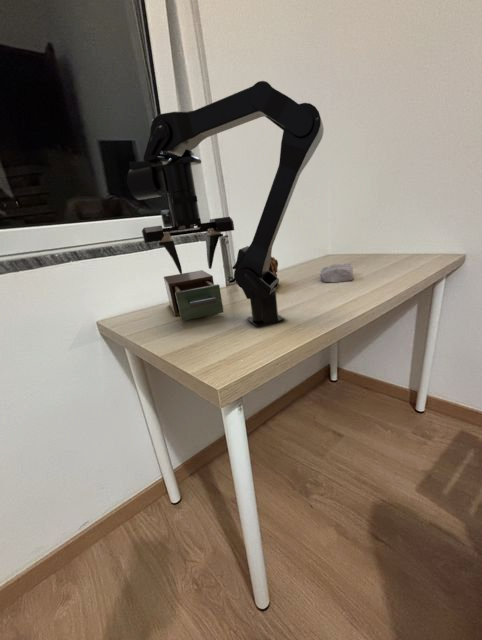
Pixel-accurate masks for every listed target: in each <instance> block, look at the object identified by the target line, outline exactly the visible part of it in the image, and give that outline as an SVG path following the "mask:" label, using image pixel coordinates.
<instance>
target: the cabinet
mask: <svg viewBox="0 0 482 640" xmlns="http://www.w3.org/2000/svg"><path fill="white" fill-rule="evenodd" d="M204 280H208V281H209V282H211V283H212V284H214V285H215V282H214V276H213V275H212V274H210V273H208V272H207V271H204V270H195V271H188V272H182V274H180V273H177V274H171V275H166V276H163V281H164V285H165V289H166V294H167V299H168V303H169V306H170V308H171V310H172V312H173V315H174V316H175V317H180V313H179V309H178V307H177V303H176V298H175V293H174V289H173V286H177V285H182V284H188V283H193V282H199V281H204Z"/></svg>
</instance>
